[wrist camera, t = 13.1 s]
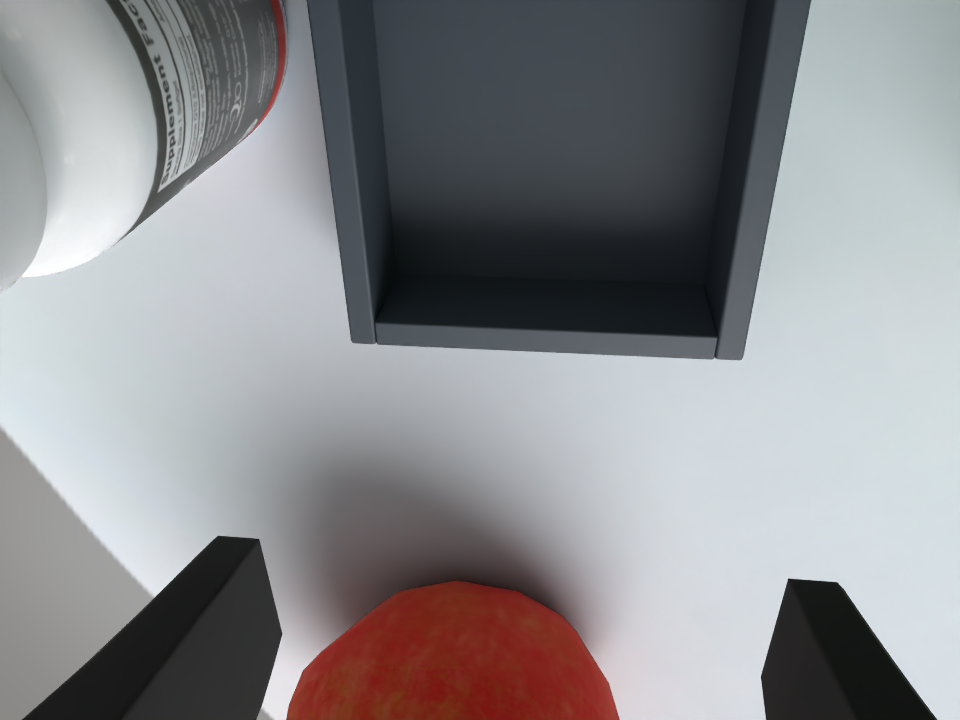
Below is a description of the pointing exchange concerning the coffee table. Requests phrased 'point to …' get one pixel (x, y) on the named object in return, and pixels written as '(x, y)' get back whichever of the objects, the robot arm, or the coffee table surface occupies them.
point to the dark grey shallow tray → (555, 168)
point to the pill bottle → (120, 114)
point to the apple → (455, 662)
